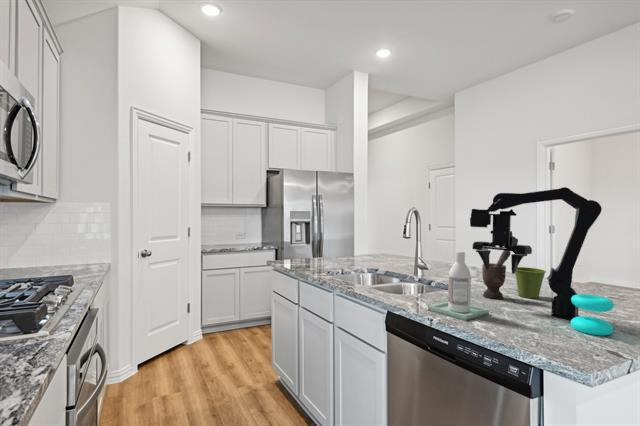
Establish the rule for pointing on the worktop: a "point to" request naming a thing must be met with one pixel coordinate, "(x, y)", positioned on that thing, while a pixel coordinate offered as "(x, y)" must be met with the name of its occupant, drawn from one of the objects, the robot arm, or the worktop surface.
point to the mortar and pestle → (495, 277)
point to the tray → (473, 313)
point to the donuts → (592, 323)
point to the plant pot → (529, 281)
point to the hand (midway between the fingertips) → (500, 271)
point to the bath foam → (459, 285)
